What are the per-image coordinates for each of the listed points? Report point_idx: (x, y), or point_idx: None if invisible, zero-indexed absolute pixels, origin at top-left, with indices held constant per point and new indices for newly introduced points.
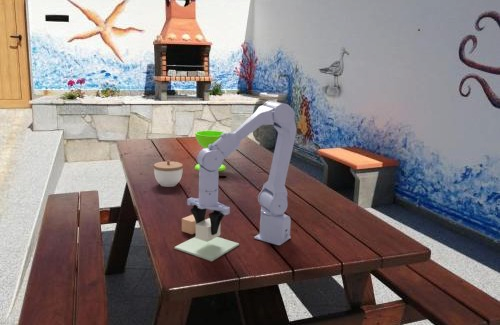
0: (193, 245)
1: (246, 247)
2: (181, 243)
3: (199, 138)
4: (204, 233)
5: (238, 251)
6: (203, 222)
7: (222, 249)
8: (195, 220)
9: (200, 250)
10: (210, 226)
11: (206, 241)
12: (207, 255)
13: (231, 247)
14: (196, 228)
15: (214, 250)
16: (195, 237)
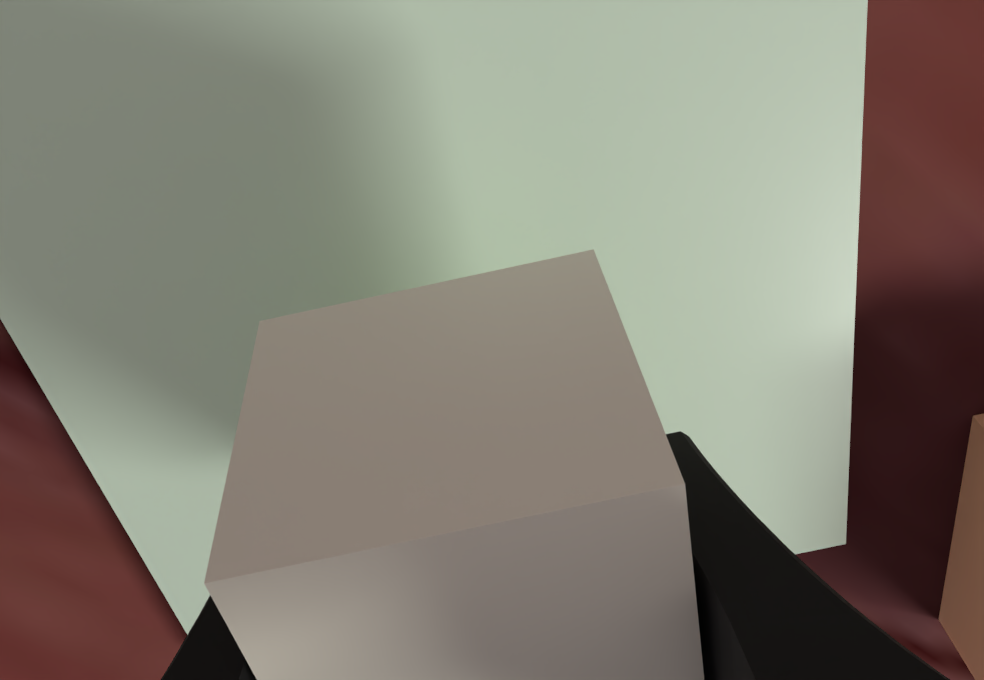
0: (620, 165)
1: (99, 675)
2: (864, 42)
3: None
4: (339, 414)
5: (35, 555)
6: (609, 671)
7: (153, 426)
8: (829, 593)
9: (347, 127)
10: (253, 666)
11: (284, 316)
12: (59, 87)
13: (146, 550)
14: (620, 401)
15: (193, 314)
16: (826, 377)
